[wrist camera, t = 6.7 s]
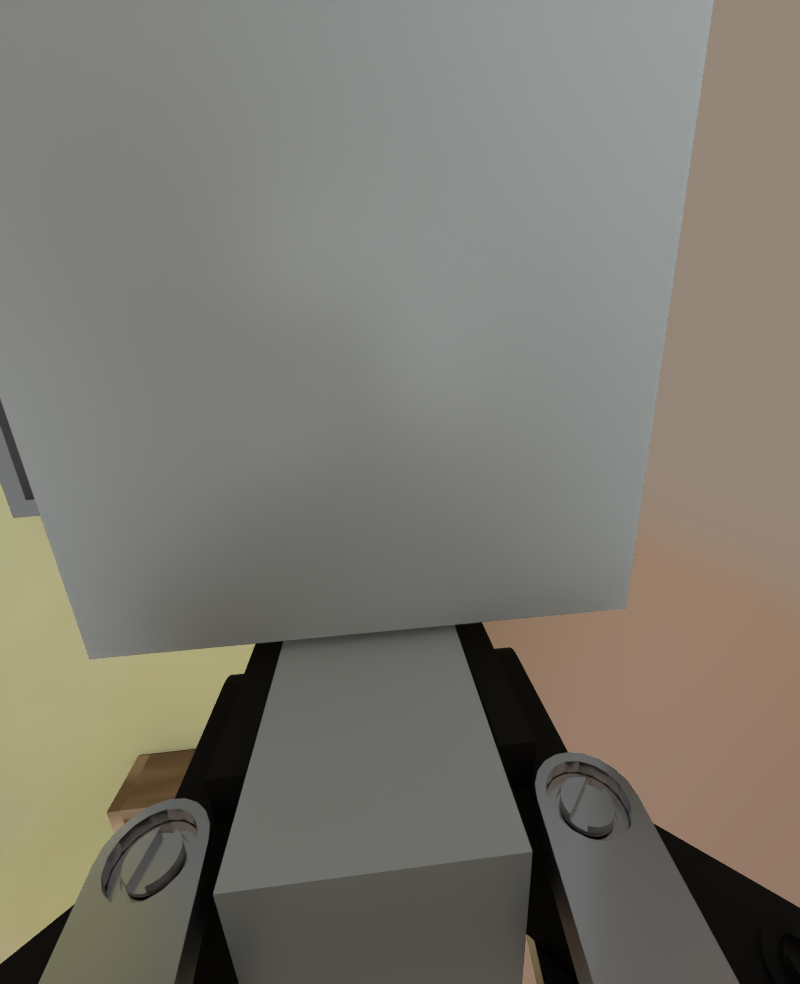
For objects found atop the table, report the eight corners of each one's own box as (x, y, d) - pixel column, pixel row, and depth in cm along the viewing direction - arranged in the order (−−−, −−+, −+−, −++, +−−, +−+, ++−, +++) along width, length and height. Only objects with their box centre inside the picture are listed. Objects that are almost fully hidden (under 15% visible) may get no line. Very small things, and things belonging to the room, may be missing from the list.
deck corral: (138, 755, 30) (106, 812, 26) (306, 736, 31) (298, 789, 27) (174, 867, 34) (150, 931, 30) (323, 847, 35) (318, 907, 31)
